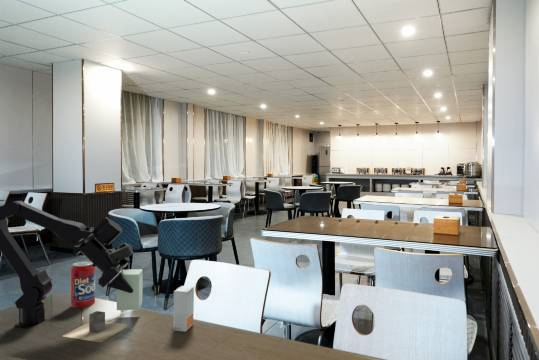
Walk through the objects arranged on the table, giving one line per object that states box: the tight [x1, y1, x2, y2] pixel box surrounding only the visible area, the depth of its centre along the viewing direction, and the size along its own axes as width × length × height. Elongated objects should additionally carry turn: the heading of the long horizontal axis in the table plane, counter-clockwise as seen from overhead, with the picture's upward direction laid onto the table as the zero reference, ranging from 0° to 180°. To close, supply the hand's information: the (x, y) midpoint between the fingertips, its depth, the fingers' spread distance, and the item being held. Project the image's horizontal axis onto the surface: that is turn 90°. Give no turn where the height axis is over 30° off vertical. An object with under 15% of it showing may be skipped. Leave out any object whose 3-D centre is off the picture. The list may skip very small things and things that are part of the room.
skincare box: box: [172, 285, 195, 332], centre depth 123 cm, size 6×4×12 cm
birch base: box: [61, 310, 130, 343], centre depth 118 cm, size 13×13×6 cm
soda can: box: [69, 261, 96, 309], centre depth 141 cm, size 8×8×15 cm
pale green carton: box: [116, 268, 144, 311], centre depth 129 cm, size 7×7×11 cm
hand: (134, 288), depth 129 cm, fingers closed on pale green carton, 7 cm apart
